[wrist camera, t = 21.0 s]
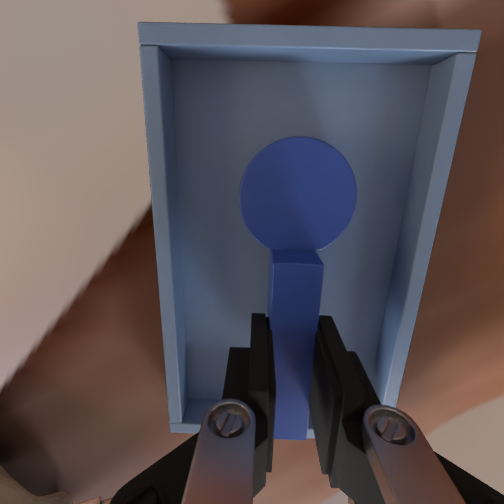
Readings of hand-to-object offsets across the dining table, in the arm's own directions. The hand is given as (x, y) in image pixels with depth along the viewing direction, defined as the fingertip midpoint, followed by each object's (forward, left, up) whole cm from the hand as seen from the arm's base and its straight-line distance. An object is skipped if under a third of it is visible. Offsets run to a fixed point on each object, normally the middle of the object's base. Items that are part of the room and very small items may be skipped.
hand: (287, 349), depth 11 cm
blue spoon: (-2, 0, -2) cm, 2 cm away
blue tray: (-3, 0, -3) cm, 4 cm away
